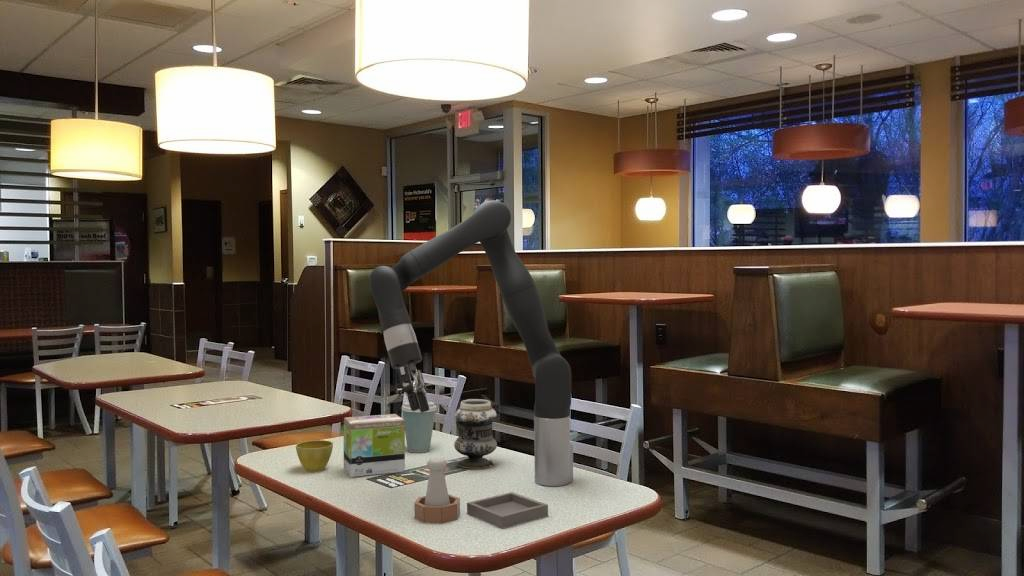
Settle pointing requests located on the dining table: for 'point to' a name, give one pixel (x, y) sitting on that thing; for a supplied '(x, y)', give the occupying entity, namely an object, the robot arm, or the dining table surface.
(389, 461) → the tea box
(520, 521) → the tray
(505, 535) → the dining table surface
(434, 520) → the cup ring
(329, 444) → the flower pot
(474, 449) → the apothecary jar
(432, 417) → the disposable coffee cup
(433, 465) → the salt shaker
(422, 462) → the dining table surface
